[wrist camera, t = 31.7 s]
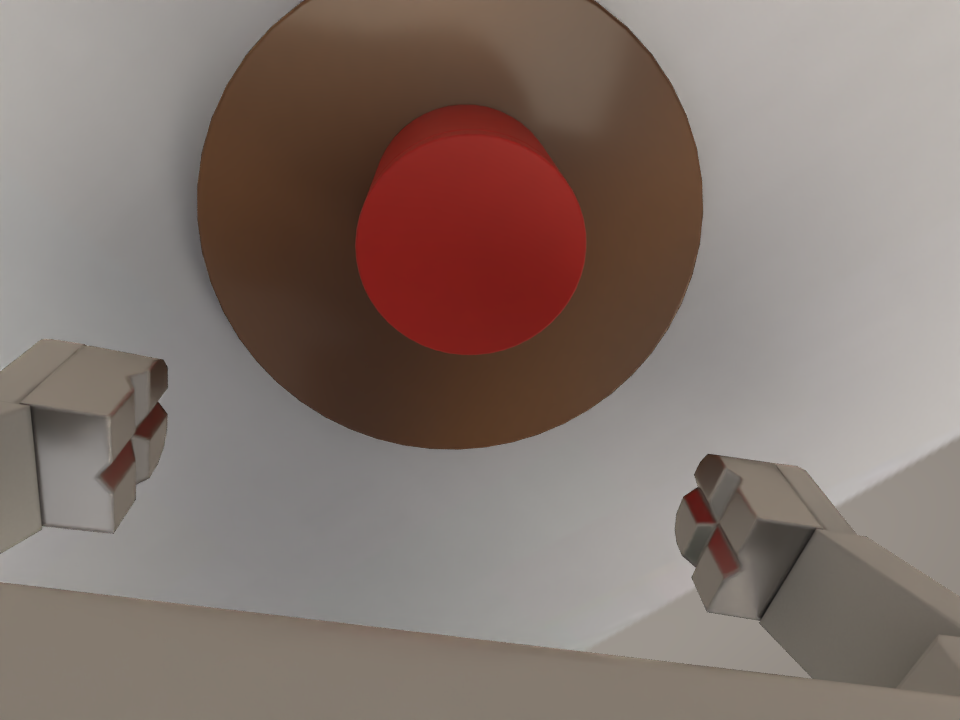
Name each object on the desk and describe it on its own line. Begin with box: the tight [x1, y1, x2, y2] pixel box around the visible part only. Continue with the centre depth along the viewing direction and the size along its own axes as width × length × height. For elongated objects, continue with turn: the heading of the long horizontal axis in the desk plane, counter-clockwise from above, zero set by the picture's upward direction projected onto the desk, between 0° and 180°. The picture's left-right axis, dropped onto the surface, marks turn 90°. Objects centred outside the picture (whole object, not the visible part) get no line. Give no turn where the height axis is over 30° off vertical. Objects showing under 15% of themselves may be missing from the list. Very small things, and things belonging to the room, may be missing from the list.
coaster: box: [197, 0, 703, 449], centre depth 15 cm, size 11×11×1 cm
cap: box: [355, 104, 586, 355], centre depth 12 cm, size 4×4×3 cm
